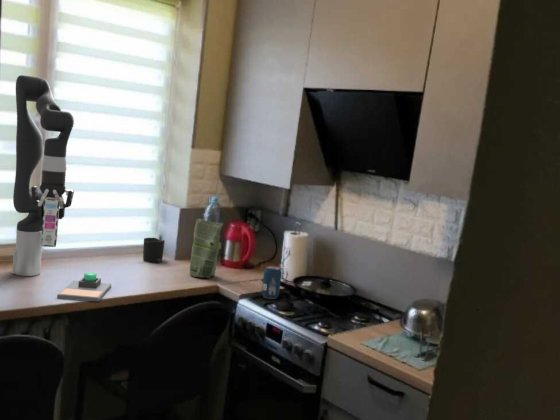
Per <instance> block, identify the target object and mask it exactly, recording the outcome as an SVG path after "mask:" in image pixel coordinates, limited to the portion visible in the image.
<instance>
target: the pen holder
mask: <svg viewBox="0 0 560 420" xmlns="http://www.w3.org/2000/svg"><path fill="white" fill-rule="evenodd" d="M142 248H143V253H142V255H143V256H142V259H143V261H144V262H146V263H151V264H159V263H161V262H162V261H163V257H164V250H165V249H164V248H165V239H162V240H160V239H158V238H157V237H145V238H143V247H142Z"/></svg>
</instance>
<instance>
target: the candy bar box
mask: <svg viewBox="0 0 560 420" xmlns="http://www.w3.org/2000/svg"><path fill="white" fill-rule="evenodd" d="M59 209H60V206H59V199H58V198H52V197H45V198H44V213H43V227H42V242H41V246H42V248H43V247H47V248H48V247H49V248H56V247H57V241H58V230H59V228H58V227H59V220H60V219H59Z"/></svg>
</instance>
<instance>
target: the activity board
mask: <svg viewBox="0 0 560 420" xmlns="http://www.w3.org/2000/svg"><path fill="white" fill-rule="evenodd" d="M111 288H112V283H107V282H106V283H104V282H102V278H100V277H96V281H95V282H89V281H84V276H83V277H82V278H81V279H80V280H72V281H71V282H70V283H69V284H68V285H67V286H65V288H63V289H62V290H61V291H59V293H57V295H56V296H57V299H67V300H74V301H75V300H76V301H89V302H100V301H101V300H102V298H103V297H104V295H106V294H107V292H108V291H109V290H110V289H111Z"/></svg>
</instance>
